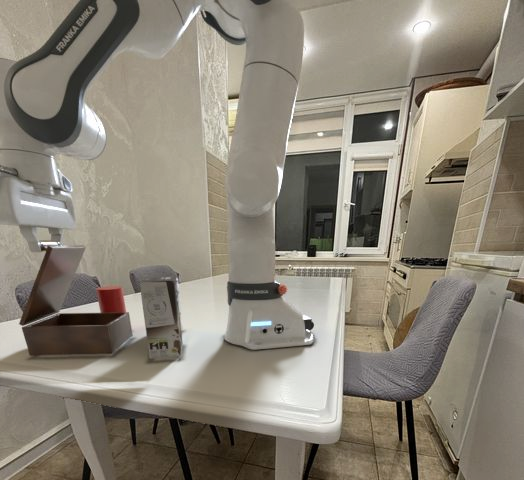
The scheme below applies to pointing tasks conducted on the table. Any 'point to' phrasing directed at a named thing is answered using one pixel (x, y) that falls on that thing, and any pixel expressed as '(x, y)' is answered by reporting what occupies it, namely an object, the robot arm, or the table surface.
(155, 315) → the coffee box
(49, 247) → the chest lid
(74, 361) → the table surface
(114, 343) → the chest
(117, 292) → the can
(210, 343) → the table surface
